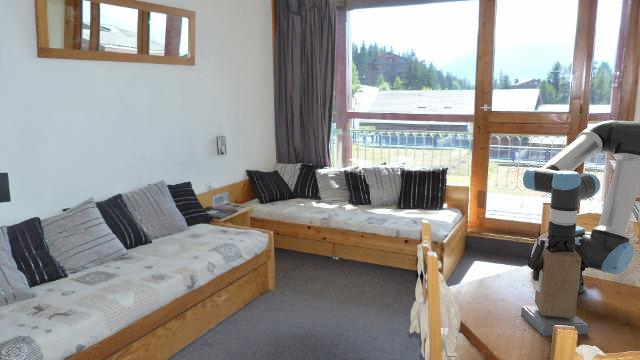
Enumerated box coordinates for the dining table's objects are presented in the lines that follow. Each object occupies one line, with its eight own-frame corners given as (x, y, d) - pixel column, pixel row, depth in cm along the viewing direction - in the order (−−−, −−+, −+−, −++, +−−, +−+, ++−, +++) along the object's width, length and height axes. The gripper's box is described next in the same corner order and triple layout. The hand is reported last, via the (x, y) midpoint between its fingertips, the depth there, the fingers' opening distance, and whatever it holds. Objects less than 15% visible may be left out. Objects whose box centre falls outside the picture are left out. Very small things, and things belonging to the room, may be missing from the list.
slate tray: (561, 313, 163) (562, 303, 163) (587, 333, 150) (588, 324, 149) (520, 314, 162) (521, 305, 162) (543, 335, 149) (543, 325, 148)
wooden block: (576, 319, 149) (582, 256, 145) (540, 316, 151) (546, 254, 147) (566, 305, 159) (572, 246, 155) (533, 302, 161) (538, 244, 157)
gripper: (592, 217, 154) (585, 283, 158) (519, 219, 152) (514, 286, 157) (607, 224, 147) (599, 293, 151) (531, 226, 145) (525, 295, 149)
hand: (556, 289), depth 154 cm, fingers closed on wooden block, 11 cm apart
